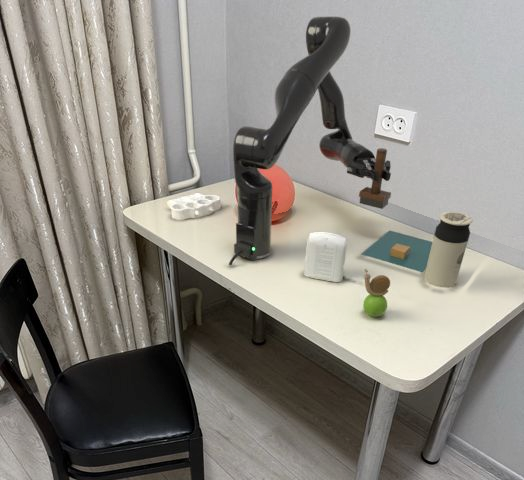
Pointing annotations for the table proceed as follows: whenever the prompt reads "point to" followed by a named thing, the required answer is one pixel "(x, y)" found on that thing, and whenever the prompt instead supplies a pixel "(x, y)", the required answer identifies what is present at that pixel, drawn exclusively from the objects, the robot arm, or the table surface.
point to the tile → (418, 246)
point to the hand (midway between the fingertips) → (383, 177)
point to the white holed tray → (193, 206)
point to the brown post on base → (376, 185)
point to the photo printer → (325, 256)
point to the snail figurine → (376, 294)
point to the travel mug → (448, 249)
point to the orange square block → (400, 251)
